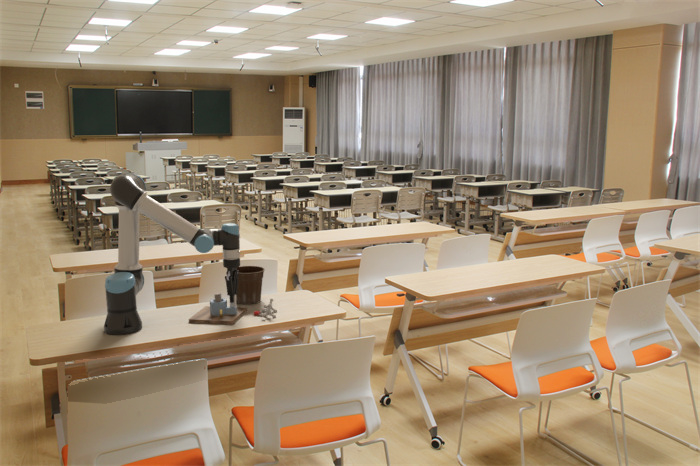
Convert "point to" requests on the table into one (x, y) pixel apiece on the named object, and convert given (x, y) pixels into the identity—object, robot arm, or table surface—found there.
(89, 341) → the table surface
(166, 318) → the table surface
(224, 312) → the flange collar
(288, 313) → the table surface
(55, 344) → the table surface
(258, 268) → the plant pot
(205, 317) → the post base
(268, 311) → the molecular model
